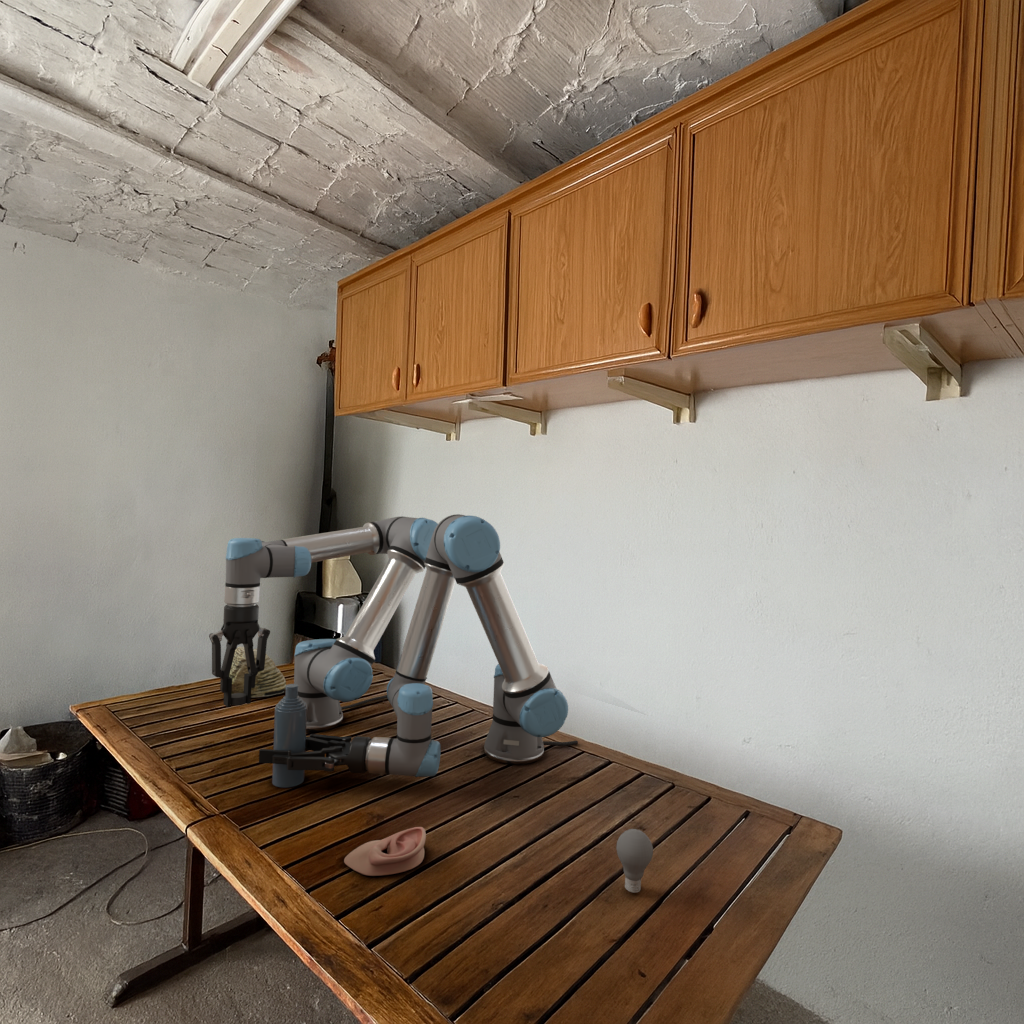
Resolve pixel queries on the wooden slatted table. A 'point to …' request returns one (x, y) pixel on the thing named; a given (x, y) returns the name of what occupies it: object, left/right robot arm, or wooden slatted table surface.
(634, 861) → the light bulb
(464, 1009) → the wooden slatted table surface
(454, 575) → the right robot arm
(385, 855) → the anatomical model
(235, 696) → the cap
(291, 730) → the bottle
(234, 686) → the fossil
